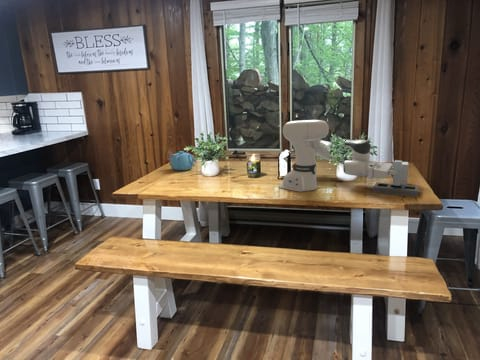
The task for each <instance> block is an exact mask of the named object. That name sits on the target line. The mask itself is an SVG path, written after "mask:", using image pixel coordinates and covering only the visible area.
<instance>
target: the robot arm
mask: <svg viewBox="0 0 480 360" xmlns="http://www.w3.org/2000/svg"><path fill="white" fill-rule="evenodd" d="M329 127H330V126H329V124H328V122H326V120H321V119H302V120H291V121H288V122H286V123H284V125H283V127H282V135H283V137H284V138H285V139H286V140H287V141H288V142H289V143H290V144H291V145H292V150H293V153H294V154H295V162H294V164H292V165H291V168H292V170H290V171H289V172H288V173H286V174H285V175H284V176H283V179H282V182H281V183H279V185H278V187H279V189H284V190H287V191H288V190H289V191H295V192H299V193H300V192H310V191H314V190H315V191H316V190H318V189H319V187H318V182H317V176H316V175H317V174H316V173H317V163H316V155H317V157H319V158H322V159H325V160H327V161H330V160H329V155H330V153H329V151H328V150H327V147H329V146H332V145H333V143H332V141H327V140H323V139H324V138H326V137H327V136H328V135H329V130H330V128H329ZM343 139H344V141H345V140H346V141H345V145H346V147H348V148H350V149H351V152H352V158H351V159H347V160H344V161H343V166H342V167H343V169H342V170H343V173H344V174H345V175H349V176H353V177H355V176H357V177H358V176H359V177H360V176H362V177H366V178H368V179H369V180H370V179H371V180H372V179H386V178H388V177H389V175H390V176H391V175H392V176H393V174H398V173H399V171H398V170H395V171H394V163H391V162H378V163H377V161H374V160H373V161H372V160H371V147H372V145H371V144H370V142H369V141H368V140H366V139H350V138H348V139H347V138H343ZM346 147H345V148H346Z"/></svg>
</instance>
